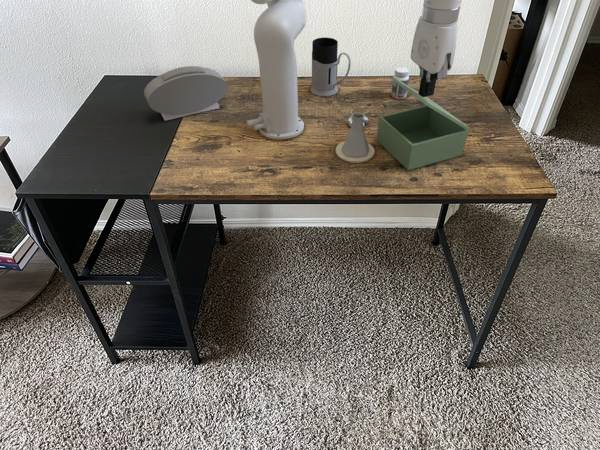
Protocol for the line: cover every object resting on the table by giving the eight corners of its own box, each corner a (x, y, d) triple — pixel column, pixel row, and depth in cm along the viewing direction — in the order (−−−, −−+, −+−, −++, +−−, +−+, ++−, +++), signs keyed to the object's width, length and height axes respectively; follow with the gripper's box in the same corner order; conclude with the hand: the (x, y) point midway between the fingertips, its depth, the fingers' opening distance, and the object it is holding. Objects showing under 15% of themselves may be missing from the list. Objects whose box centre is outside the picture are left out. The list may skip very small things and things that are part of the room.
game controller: (359, 132, 124) (360, 123, 123) (326, 119, 130) (326, 110, 128) (371, 124, 127) (372, 115, 126) (338, 111, 133) (339, 103, 131)
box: (407, 170, 111) (412, 145, 106) (376, 140, 121) (379, 116, 116) (462, 155, 115) (468, 130, 110) (427, 127, 126) (432, 103, 121)
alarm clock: (224, 98, 141) (218, 57, 132) (230, 106, 137) (225, 65, 128) (149, 115, 134) (138, 73, 125) (153, 124, 129) (142, 82, 121)
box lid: (427, 105, 100) (429, 103, 100) (390, 78, 110) (392, 76, 110) (468, 130, 110) (470, 127, 110) (431, 103, 121) (433, 101, 120)
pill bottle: (408, 94, 141) (412, 67, 135) (404, 100, 137) (408, 74, 132) (393, 91, 142) (396, 65, 136) (389, 97, 139) (392, 71, 133)
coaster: (346, 166, 112) (346, 164, 112) (329, 146, 119) (329, 144, 119) (381, 157, 115) (381, 155, 115) (362, 138, 122) (362, 136, 122)
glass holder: (323, 81, 148) (323, 34, 138) (357, 94, 141) (360, 46, 131) (304, 90, 144) (304, 42, 134) (338, 104, 136) (340, 55, 126)
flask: (370, 157, 114) (374, 122, 107) (342, 158, 114) (343, 122, 107) (368, 142, 119) (371, 107, 113) (340, 142, 119) (342, 108, 113)
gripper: (405, 6, 100) (395, 85, 112) (447, 27, 89) (431, 112, 102) (434, 1, 102) (421, 79, 114) (478, 21, 91) (458, 105, 104)
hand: (425, 94), depth 108 cm, fingers closed
